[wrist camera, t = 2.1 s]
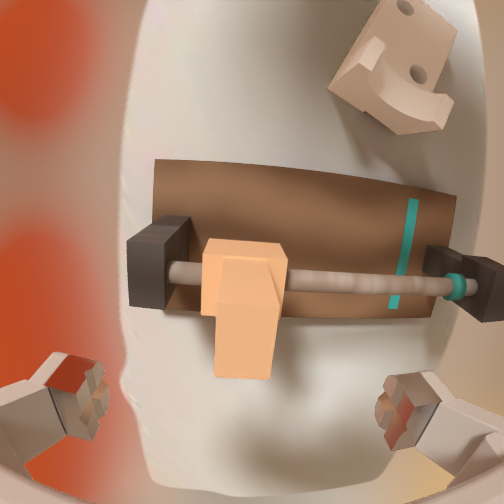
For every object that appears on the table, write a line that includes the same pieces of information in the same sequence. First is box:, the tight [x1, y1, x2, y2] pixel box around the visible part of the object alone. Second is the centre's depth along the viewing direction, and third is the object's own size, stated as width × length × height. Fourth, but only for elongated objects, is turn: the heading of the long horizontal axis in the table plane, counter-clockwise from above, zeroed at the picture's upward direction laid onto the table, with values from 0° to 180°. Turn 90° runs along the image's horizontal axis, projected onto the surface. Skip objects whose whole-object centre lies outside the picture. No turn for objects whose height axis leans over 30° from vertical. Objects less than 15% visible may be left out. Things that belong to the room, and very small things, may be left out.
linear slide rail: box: [127, 159, 504, 323], centre depth 20 cm, size 12×26×11 cm, turn 85°
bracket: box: [327, 0, 457, 135], centre depth 18 cm, size 13×7×8 cm, turn 151°
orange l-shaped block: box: [201, 238, 288, 380], centre depth 14 cm, size 3×4×8 cm
